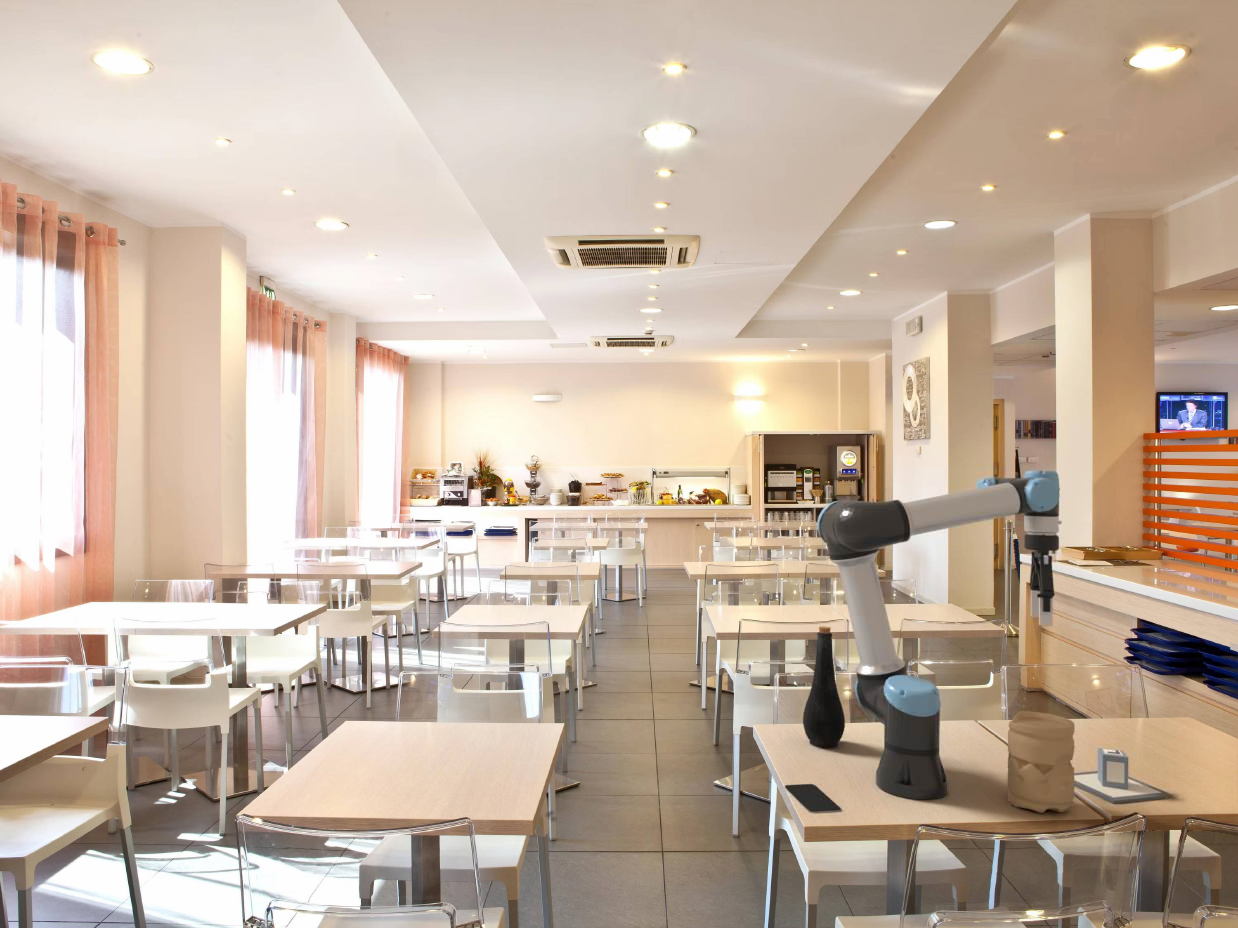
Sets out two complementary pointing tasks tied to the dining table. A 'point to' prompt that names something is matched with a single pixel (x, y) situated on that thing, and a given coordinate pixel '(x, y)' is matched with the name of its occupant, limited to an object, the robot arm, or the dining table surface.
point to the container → (1040, 762)
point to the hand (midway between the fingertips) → (1041, 621)
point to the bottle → (824, 698)
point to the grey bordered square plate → (1118, 789)
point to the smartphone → (812, 798)
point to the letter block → (1113, 768)
